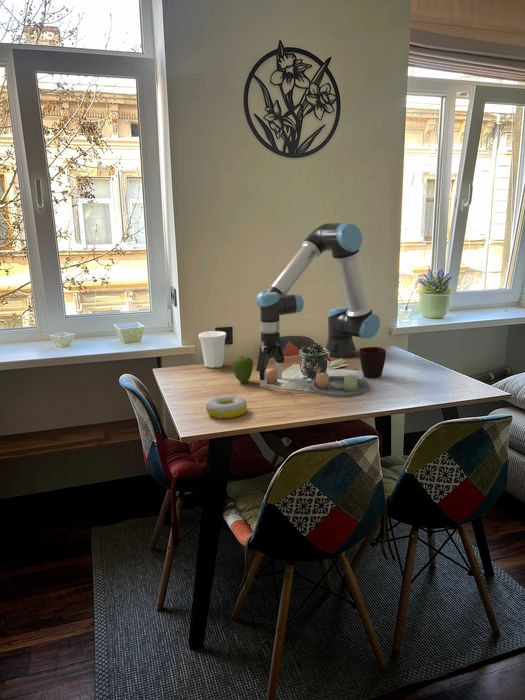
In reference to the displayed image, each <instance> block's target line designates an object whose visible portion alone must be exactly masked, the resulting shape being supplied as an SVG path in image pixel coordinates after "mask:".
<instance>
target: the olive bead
mask: <svg viewBox="0 0 525 700" xmlns="http://www.w3.org/2000/svg"><path fill="white" fill-rule="evenodd" d="M345 376H346V377H344V392H345V393H347V392H353V391H357V378H358V377H357V376H354V375H345Z"/></svg>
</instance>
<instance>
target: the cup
mask: <svg viewBox="0 0 525 700" xmlns="http://www.w3.org/2000/svg"><path fill="white" fill-rule="evenodd" d="M226 337H227V333H226V332H225V331H222V330H221V331H220V330H212V331H211V330H209V331H203V332H200V333H199V334H198V339H199V341H200V345H201V352H202V356H203V357H202V358H203V363H204V367H205V366H208V367H221V366H223V367H224V359H225V342H226ZM221 368H222V367H221Z"/></svg>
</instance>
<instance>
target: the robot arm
mask: <svg viewBox="0 0 525 700" xmlns="http://www.w3.org/2000/svg"><path fill="white" fill-rule="evenodd" d="M362 242H363V233H362V231H361V229H360V228H359V226H357V225H356V224H355V223H351V222H333V223H330V222H327V223H324V224H321V225H320V226H318V227H316V228H315V229H314V230H312V231H311V232H310V233H309V234H308V235H307V236H306V238H305V239H304V240H303V241H302V242H301V247H300V248H299V250H298V251H297V252H296V254H295V255H294V256H293V258H292V259H290V261H289V263H288V264H287V265H286V267H284V269H283V270H282V271H281V273H280V274H279V275H278V277H277V278H276V279H275V280H274V282H273V283H272V284H271V285H270V286H269V288H268V289H267V290H265V291H260V292H259V293H258V294H257V295H256V301H255V302H256V305H257V307H258V308H259V310H260V311H259V312H260V331H261V332H260V341H261V342H262V343H263V346H259V353H258V354H259V355H258V360H257V362H256V363H257V365H256V370H255V371H256V372H258V373H259V387H260V388H265V389H267V387H268V384H267V372H266V371H265V370H266V369H267V367H268V364H269V362H270V361H269V360H270V358H271V357H272V356H273V358H274V360H275V363H274V369H277V379H282V378H283V371H282V369H283V366H282V365H283V364H285V356H284V355H285V354H284V352H283V348H282V341H281V340H280V339H281V338H280V337H281V336H280V334H281V333H280V326H281V323H280V317H281V316H284V315H292V314H297V313H300V312H302V311H303V310H304V306H305V305H304V304H305V301H304V299H303V297H302V295H300V294H297V293H296V294H288V293H289V292H290V291H291V289H292V288H293V287H294V285H296V283H297V282H298V280H299V279H300V278H301V277H302V275H303V274H304V272H306V270H308V268H309V266H310V265H311V264H312V262H314V260H315V259H316V258H320V256H321V254H322V253H324V252H327V251H329V252H331V256H332V258H333V259H334V260H335V261H337V262H336V263H337V266H338V270H339V273H340V277H341V281H342V286H343V290H344V295H345V296H344V297H345V300H346V304H347V306H339V307H334V308H330V309H329V310H328V315H327V330H328V331H327V335H328V336H327V341H326V344H325V348H324V350H325V349H327V350H328V351H329V352H330V356H329V357H330V358H337V359H338V358H341V359H342V358H344V359H345V358H351V357H354V356H356V354H357V352H356V351H357V350H356V349H357V348H356V346H355V343H354V340H353V337H357V338H360V339H366V340H369V339H372V338H374V337H375V336H376V335H377V333H378V332H379V329H380V324H381V320H380V317H379V316H378V315H377V314H376V313H373V309H372V306H371V305H369V304H368V301H367V297H366V293H365V292H366V291H365V287H364V283H363V278H362V275H361V269H360V266H359V260H358V254H360V248H361V247H362Z"/></svg>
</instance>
